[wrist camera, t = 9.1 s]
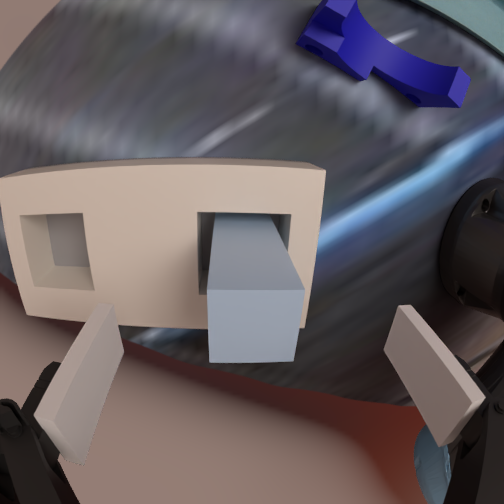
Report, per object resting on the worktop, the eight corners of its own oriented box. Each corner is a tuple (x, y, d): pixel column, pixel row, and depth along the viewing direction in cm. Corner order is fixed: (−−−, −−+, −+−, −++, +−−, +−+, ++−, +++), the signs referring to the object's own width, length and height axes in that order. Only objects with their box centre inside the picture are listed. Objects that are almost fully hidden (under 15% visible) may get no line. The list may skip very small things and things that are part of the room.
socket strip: (306, 161, 23) (325, 170, 19) (292, 295, 28) (304, 328, 23) (30, 167, 21) (-3, 178, 16) (50, 287, 26) (26, 314, 21)
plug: (268, 211, 24) (305, 289, 12) (264, 268, 25) (291, 372, 14) (215, 210, 23) (207, 289, 12) (215, 267, 25) (210, 374, 14)
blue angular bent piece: (295, 44, 20) (315, 21, 14) (317, 5, 18) (342, -23, 13) (411, 120, 22) (453, 123, 17) (428, 82, 21) (471, 79, 15)
